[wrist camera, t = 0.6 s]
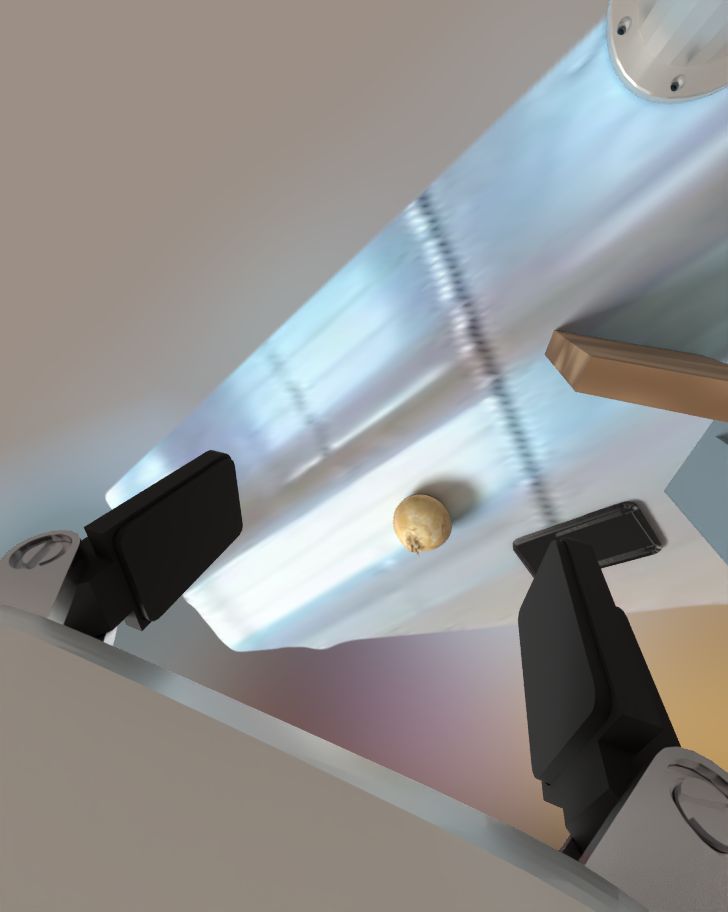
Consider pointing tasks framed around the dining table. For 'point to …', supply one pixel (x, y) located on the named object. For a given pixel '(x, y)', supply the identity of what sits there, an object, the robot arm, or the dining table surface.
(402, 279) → the dining table surface
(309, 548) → the dining table surface
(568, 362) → the door
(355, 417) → the dining table surface
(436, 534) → the onion
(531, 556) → the phone
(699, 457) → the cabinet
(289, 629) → the dining table surface
